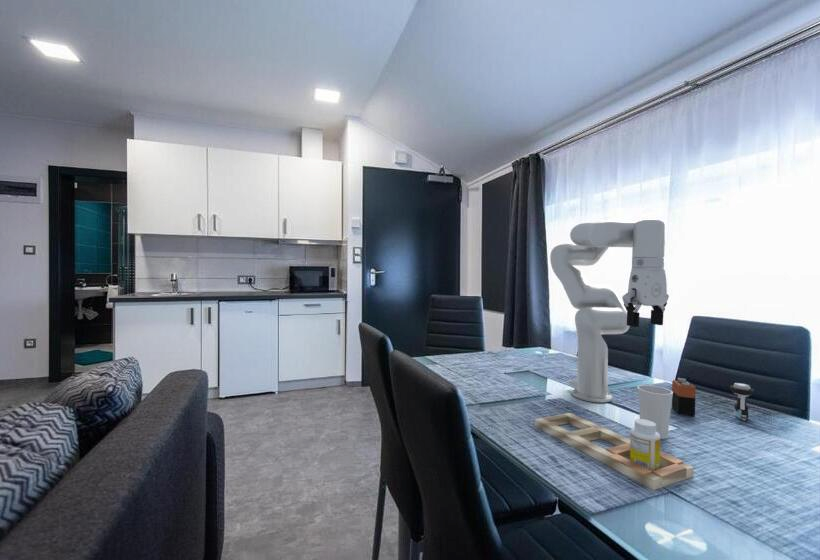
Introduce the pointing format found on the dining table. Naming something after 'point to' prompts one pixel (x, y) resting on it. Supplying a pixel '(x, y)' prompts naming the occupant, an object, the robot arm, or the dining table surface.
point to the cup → (655, 407)
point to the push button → (741, 399)
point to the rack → (614, 451)
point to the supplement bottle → (645, 444)
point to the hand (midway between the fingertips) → (644, 325)
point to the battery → (683, 397)
